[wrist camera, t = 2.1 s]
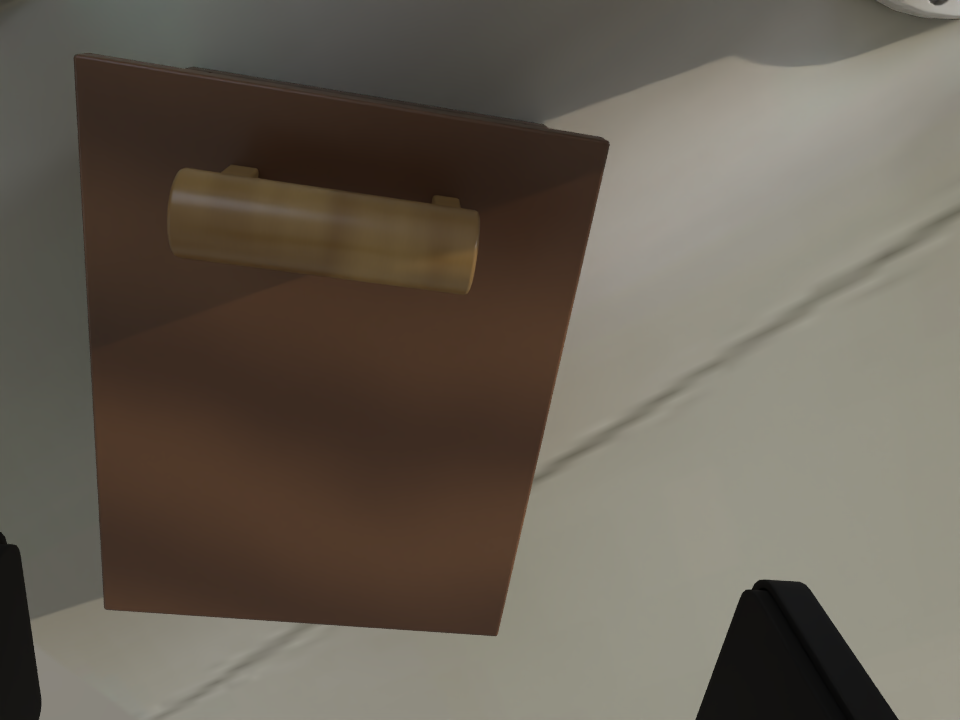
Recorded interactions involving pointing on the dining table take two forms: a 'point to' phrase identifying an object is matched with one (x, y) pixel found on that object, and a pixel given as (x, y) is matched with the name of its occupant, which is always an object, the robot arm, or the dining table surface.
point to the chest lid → (319, 344)
